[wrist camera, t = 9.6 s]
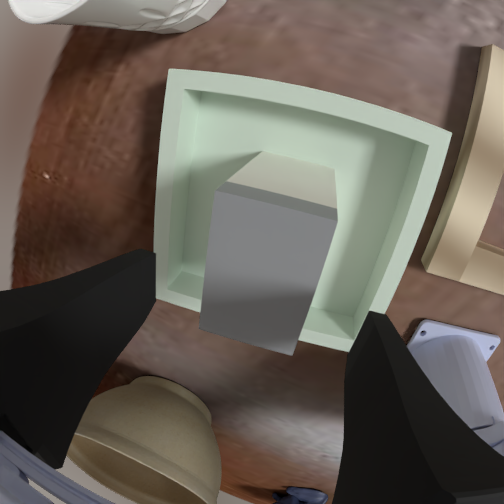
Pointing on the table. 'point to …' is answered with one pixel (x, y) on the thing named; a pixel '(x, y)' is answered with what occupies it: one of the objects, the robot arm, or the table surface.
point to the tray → (307, 149)
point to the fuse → (267, 250)
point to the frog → (301, 496)
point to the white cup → (119, 13)
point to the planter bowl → (150, 444)
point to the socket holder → (474, 188)
